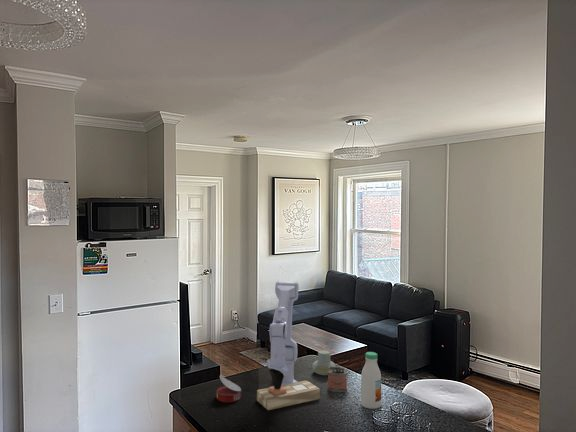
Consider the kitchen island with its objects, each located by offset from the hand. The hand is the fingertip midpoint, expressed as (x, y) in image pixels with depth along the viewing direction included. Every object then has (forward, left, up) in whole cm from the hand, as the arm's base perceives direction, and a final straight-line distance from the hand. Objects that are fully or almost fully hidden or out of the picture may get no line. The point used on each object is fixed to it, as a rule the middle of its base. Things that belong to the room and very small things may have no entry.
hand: (277, 388), depth 165 cm
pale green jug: (-18, +34, -6) cm, 39 cm away
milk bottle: (+19, +31, -6) cm, 37 cm away
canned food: (-13, -15, -6) cm, 21 cm away
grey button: (0, +10, -4) cm, 11 cm away
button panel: (0, +5, -5) cm, 7 cm away
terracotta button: (0, 0, -3) cm, 3 cm away
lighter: (+1, +28, -6) cm, 29 cm away
